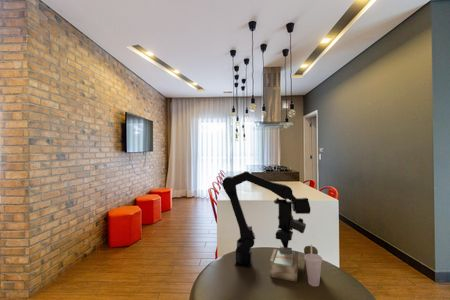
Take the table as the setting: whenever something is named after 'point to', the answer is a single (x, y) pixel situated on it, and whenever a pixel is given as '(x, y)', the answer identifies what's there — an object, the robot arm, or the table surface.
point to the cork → (308, 251)
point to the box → (284, 268)
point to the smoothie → (313, 268)
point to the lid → (284, 257)
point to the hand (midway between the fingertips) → (285, 249)
